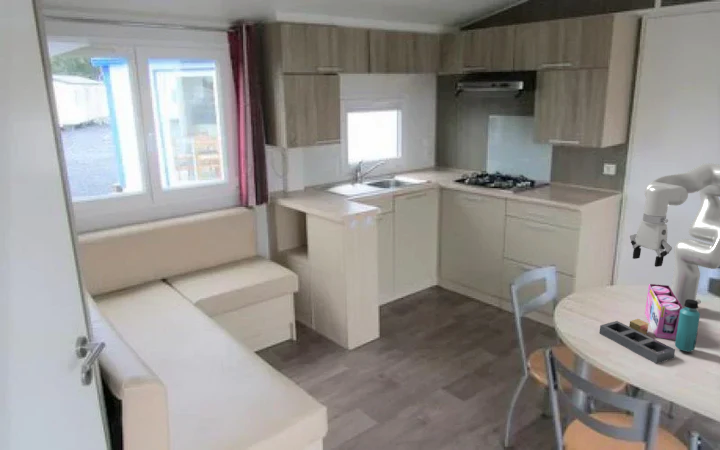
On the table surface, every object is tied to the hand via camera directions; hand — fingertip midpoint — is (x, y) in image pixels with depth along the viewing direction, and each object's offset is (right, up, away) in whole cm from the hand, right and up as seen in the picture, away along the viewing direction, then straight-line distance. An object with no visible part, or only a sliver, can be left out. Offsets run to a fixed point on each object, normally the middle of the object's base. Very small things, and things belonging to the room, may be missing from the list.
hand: (646, 262), depth 201 cm
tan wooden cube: (0, -28, +6) cm, 29 cm away
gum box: (+11, -27, +11) cm, 31 cm away
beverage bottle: (+9, -32, -8) cm, 35 cm away
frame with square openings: (-6, -31, -4) cm, 32 cm away
